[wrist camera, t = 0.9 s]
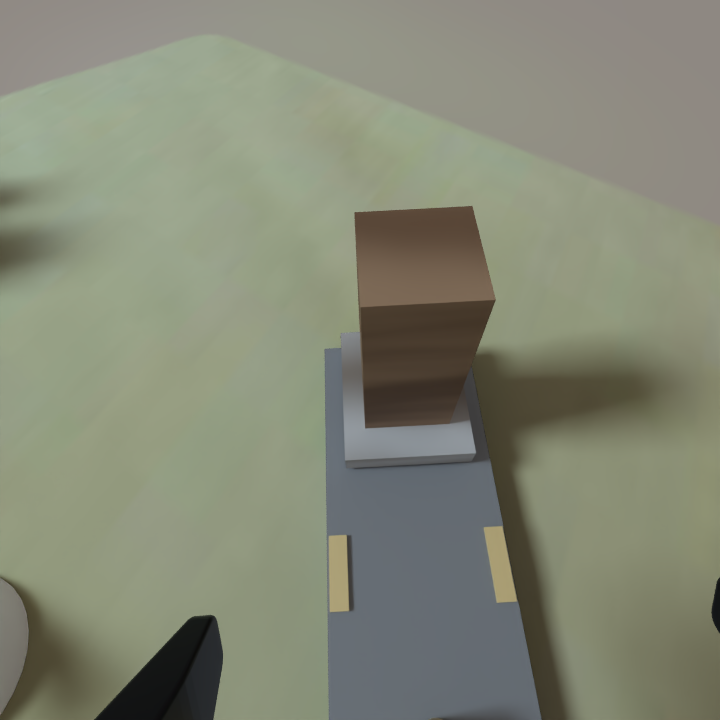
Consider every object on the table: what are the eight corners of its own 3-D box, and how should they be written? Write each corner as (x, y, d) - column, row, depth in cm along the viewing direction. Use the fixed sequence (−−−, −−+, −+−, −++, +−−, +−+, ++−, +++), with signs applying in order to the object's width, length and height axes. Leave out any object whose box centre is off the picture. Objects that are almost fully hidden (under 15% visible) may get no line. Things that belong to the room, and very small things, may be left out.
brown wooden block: (471, 461, 22) (541, 340, 13) (346, 468, 22) (326, 352, 13) (449, 339, 26) (492, 175, 16) (342, 345, 26) (324, 184, 16)
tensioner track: (538, 757, 18) (577, 787, 14) (332, 768, 18) (323, 802, 14) (462, 354, 27) (475, 315, 24) (327, 362, 27) (320, 323, 24)
